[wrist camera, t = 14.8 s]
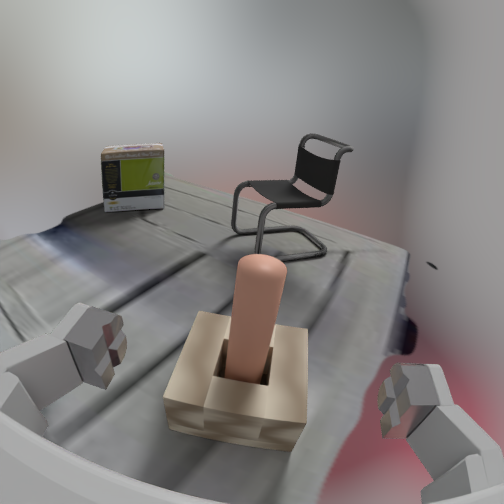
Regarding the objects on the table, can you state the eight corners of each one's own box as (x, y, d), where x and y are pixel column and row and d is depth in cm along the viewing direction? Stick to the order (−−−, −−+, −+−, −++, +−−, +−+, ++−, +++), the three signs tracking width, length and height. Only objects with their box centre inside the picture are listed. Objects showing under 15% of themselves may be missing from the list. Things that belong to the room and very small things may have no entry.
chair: (333, 255, 62) (357, 147, 51) (254, 266, 55) (271, 139, 44) (300, 228, 72) (317, 133, 61) (229, 234, 65) (239, 127, 54)
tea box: (161, 196, 81) (163, 142, 74) (164, 210, 73) (165, 149, 66) (107, 199, 76) (105, 144, 69) (103, 213, 68) (100, 152, 61)
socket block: (169, 429, 26) (162, 396, 23) (198, 347, 37) (199, 310, 34) (291, 451, 25) (306, 423, 22) (296, 364, 36) (307, 329, 33)
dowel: (219, 398, 29) (233, 275, 21) (227, 372, 32) (242, 250, 24) (255, 405, 28) (285, 285, 21) (260, 378, 32) (288, 259, 24)
